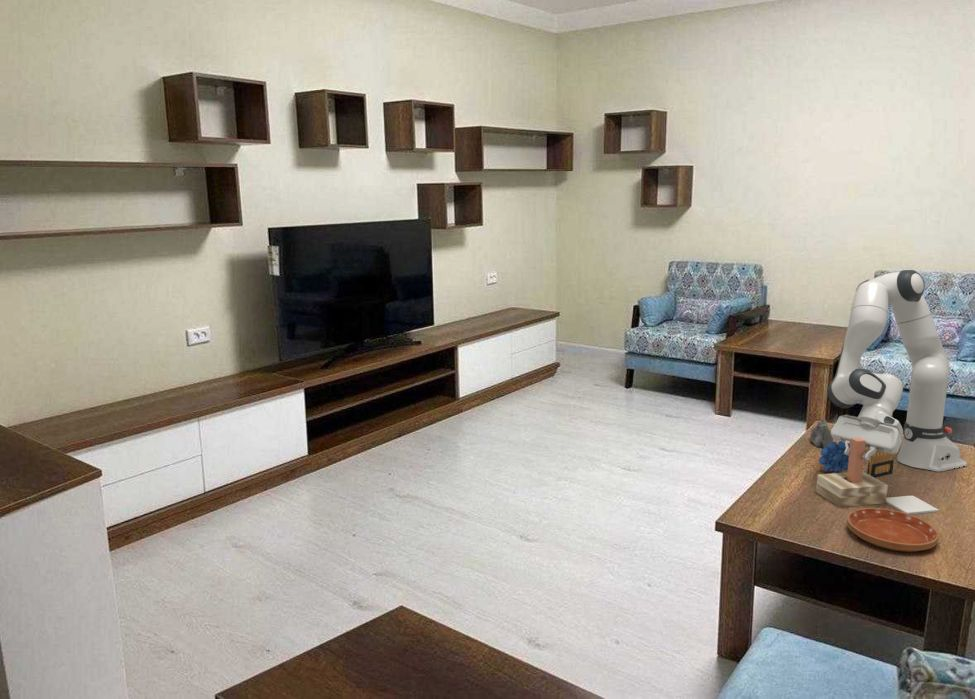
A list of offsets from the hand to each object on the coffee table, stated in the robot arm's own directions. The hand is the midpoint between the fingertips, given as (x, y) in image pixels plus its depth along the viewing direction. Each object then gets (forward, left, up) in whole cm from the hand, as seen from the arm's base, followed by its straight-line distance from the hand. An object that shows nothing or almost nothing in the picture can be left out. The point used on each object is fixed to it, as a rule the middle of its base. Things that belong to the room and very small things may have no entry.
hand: (855, 456), depth 237 cm
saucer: (+6, +25, -14) cm, 30 cm away
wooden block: (-1, 0, -8) cm, 9 cm away
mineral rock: (-23, -49, -14) cm, 56 cm away
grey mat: (-14, +8, -14) cm, 22 cm away
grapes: (-9, -21, -14) cm, 27 cm away
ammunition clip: (-22, -16, -14) cm, 31 cm away
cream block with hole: (0, -1, -14) cm, 14 cm away
